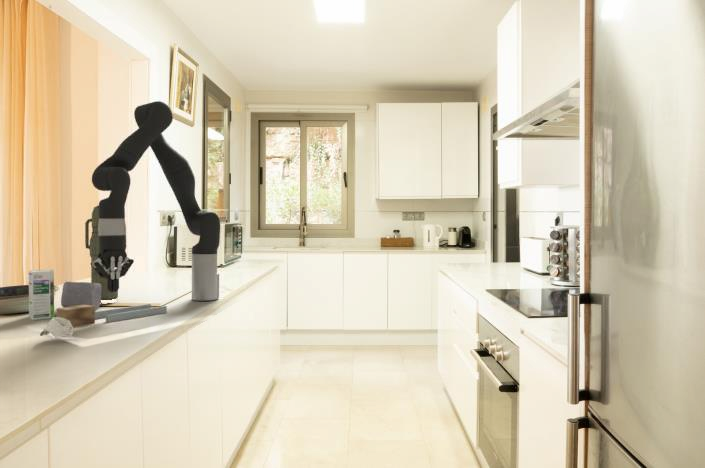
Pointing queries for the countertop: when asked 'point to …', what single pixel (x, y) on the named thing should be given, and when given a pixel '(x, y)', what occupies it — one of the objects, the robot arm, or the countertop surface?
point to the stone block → (81, 294)
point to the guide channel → (129, 312)
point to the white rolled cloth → (58, 328)
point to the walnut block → (77, 314)
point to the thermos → (94, 255)
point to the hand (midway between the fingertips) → (113, 291)
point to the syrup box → (41, 294)
